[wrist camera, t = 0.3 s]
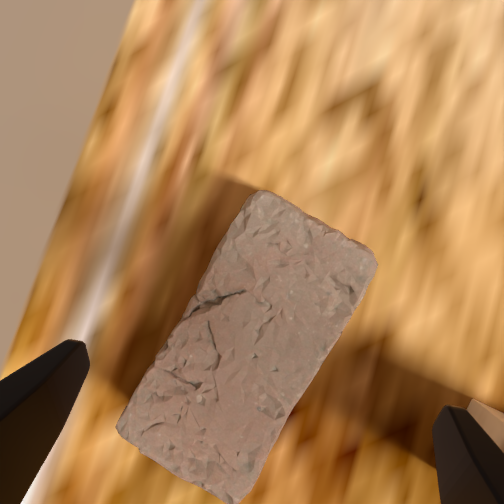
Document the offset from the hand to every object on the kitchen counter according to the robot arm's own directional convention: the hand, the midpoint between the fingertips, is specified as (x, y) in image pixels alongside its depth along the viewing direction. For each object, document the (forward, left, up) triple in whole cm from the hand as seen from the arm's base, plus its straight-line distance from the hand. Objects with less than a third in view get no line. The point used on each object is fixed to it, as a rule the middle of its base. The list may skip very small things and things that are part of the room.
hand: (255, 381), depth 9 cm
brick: (-1, +2, -15) cm, 16 cm away
